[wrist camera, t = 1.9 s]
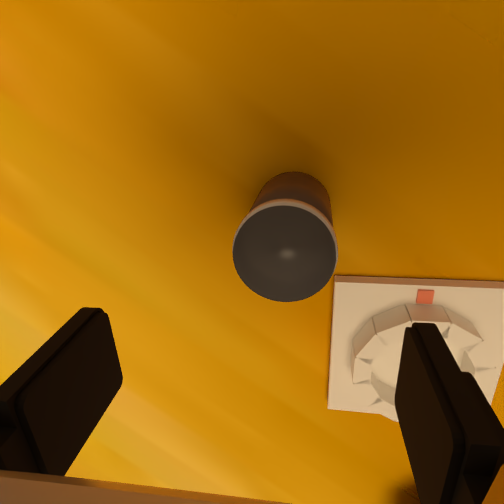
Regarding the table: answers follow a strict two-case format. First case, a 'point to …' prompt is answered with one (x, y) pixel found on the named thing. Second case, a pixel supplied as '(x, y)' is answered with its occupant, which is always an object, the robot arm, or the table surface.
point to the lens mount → (392, 333)
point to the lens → (287, 239)
